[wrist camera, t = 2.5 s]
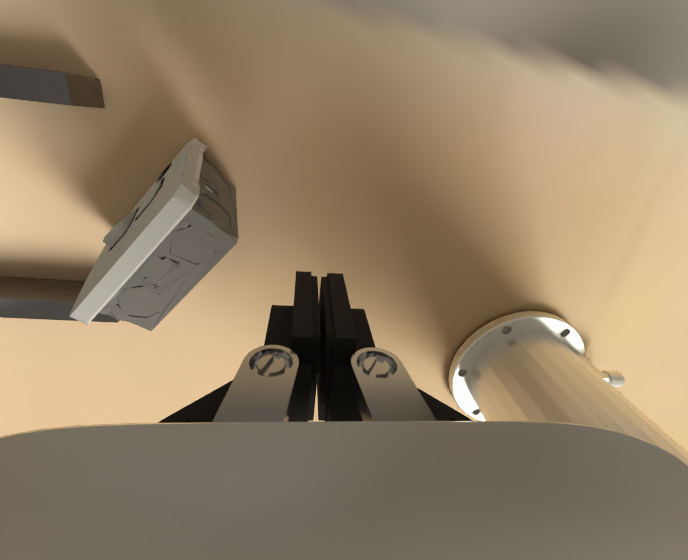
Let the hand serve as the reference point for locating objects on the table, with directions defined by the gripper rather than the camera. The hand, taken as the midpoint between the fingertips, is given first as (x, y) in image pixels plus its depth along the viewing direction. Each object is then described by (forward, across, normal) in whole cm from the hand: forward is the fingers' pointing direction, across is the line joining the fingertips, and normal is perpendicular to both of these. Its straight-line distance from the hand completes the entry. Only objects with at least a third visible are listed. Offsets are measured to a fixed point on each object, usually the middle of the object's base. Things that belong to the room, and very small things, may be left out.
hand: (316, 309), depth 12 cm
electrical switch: (+14, +8, 0) cm, 16 cm away
